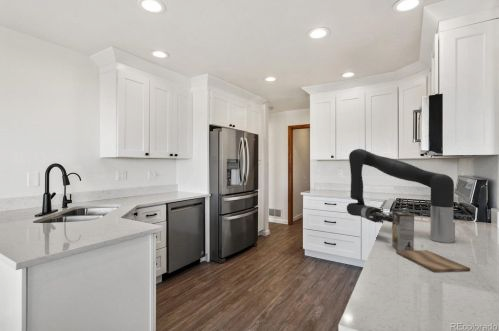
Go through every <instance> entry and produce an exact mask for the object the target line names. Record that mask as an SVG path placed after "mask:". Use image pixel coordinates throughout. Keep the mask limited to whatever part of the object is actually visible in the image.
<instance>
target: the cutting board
mask: <svg viewBox="0 0 499 331" xmlns="http://www.w3.org/2000/svg"><path fill="white" fill-rule="evenodd" d="M395 254H397V255H399V256H400V257H402V258H405V259H407V260H409V261H411V262H413V263H415V264H416V265H418V266H420V267H422V268H424V269H427V270H429V271H430V272H433V273H452V272H455V273H456V272H471V268H470V267H468V266H466V265H464V264H462V263H459V262H456V261H454V260H451V259H449V258H446V257H444V256H442V255H439V254H437V253H434V252H433V251H430V250H425V249H424V250H423V249H422V250H415V249H414V251H398V250H396V251H395Z"/></svg>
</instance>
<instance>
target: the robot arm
mask: <svg viewBox="0 0 499 331" xmlns="http://www.w3.org/2000/svg"><path fill="white" fill-rule="evenodd" d="M348 161H349V162H348V163H349V167H350V169H349V170H350V194H349V195H350V196H349V197H350V199H351V200H355V201H357V202H351V203H348V204H347V205H346V212H347V213H348V214H349V215H351V216H355V217H361V218H364V219H366V220H369V221H370V222H374V223H378V222H382V221H383V222H388V223H392V213H385V212H384V211H382V209H380V208H379V207H375V206H371V205H366V204H365V200H364V181H363V166H369V167H372V168H375V169H377V170H378V171H380V172H382V173H383V174H385V175H388V176H390V177H393V178H396V179H399V180H404V181H408V182H414V183H418V184H421V185H423V186H426V187H429V188H430V220H429V221H430V226H429V228H430V231H429V232H430V234H429V235H430V237H429V238H430V240H432V241H434V242H438V243H445V244H449V243H450V244H451V243H454V242H456V222H455V221H454V201H455V199H454V198H455V197H454V196H455V182H454V180H453V178H452V177H450V176H449V175H447V174H443V173H439V172H438V173H437V172H433V171H429V170H424V169H423V168H420V167H418V166H415V165H413V164H411V163H410V164H409V163H408V162H404V161H401V160H398V159H396V158H395V159H394V158H391V157H385V156H383V155H382V156H381V155H378V154H375V153H372V152H370V151H367V150H366V149H363V148H358V149H353V150H352V151H350V153H349V154H348Z"/></svg>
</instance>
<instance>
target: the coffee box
mask: <svg viewBox="0 0 499 331" xmlns="http://www.w3.org/2000/svg"><path fill="white" fill-rule="evenodd" d="M391 214H392V222H391V223H392V225H391V226H392V228H391V230H392V235H391V236H392V237H391V240H392V241H391V244H392V247H393V248H394V249H395V250H396V251H414V250H415V248H414V247H415V246H414V245H415V243H414V242H415V215H414V214H412V213H410V212H408V211H392V213H391Z"/></svg>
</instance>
